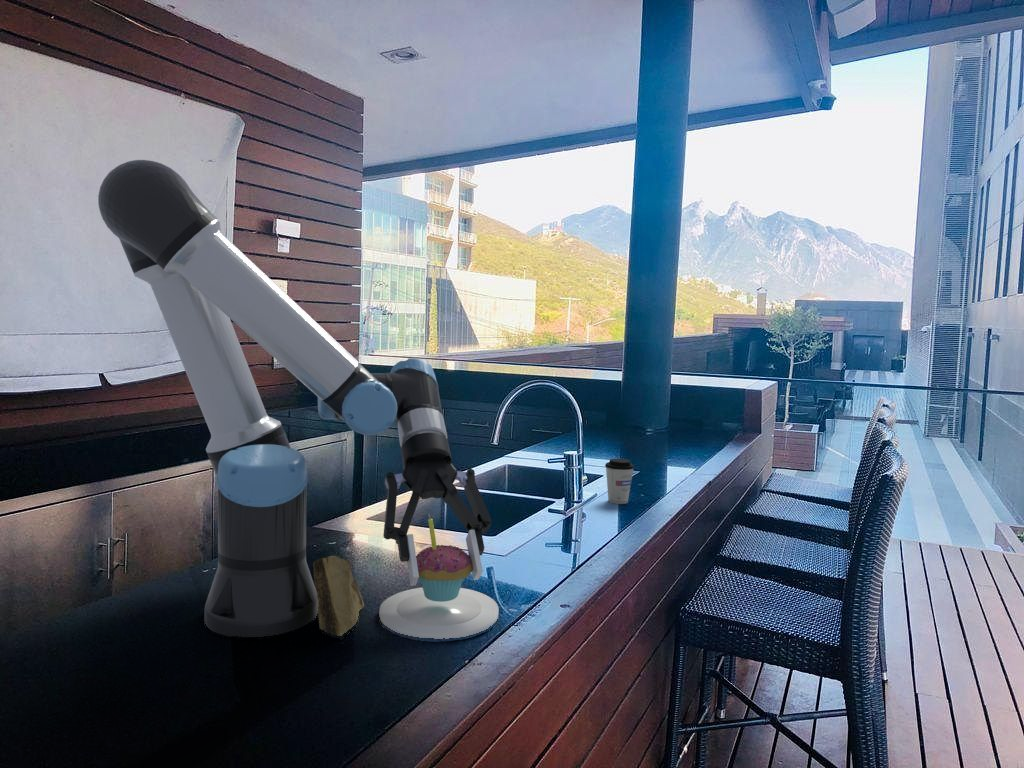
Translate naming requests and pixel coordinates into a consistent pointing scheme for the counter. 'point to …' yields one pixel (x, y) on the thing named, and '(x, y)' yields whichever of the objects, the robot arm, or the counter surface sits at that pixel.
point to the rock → (336, 595)
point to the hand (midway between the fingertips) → (446, 578)
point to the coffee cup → (619, 480)
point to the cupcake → (442, 569)
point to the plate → (438, 614)
